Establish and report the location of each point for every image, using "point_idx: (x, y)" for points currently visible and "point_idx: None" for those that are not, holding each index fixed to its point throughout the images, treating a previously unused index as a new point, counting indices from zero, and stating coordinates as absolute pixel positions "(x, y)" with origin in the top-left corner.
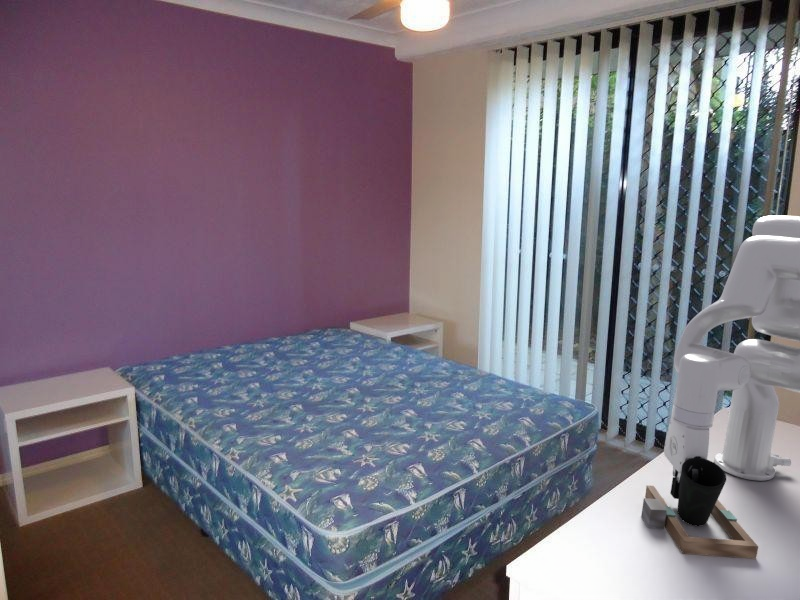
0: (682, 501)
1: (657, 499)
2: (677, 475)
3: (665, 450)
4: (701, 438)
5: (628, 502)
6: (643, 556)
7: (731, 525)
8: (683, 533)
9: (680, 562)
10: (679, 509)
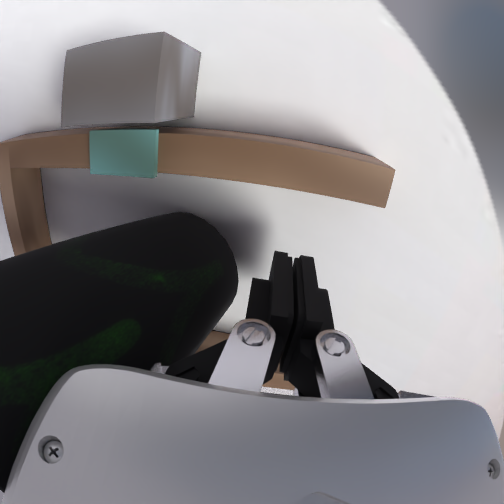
0: (89, 234)
1: (150, 111)
2: (310, 353)
3: (470, 438)
4: None
5: (322, 44)
6: (20, 31)
7: None
8: (17, 155)
9: (4, 118)
10: (157, 219)
